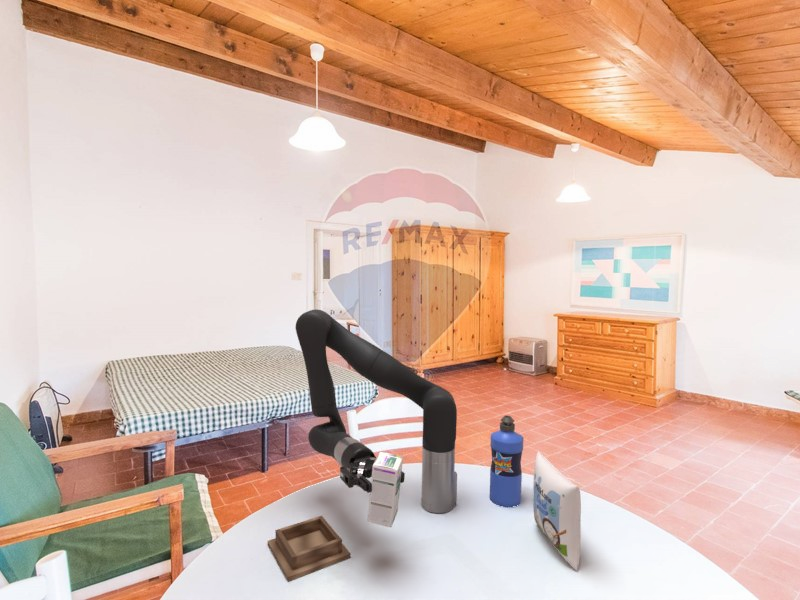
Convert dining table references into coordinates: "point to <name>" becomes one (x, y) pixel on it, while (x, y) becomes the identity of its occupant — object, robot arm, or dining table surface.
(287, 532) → the holder stand
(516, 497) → the water bottle
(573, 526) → the pouch
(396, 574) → the dining table surface
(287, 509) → the dining table surface
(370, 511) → the syrup box
